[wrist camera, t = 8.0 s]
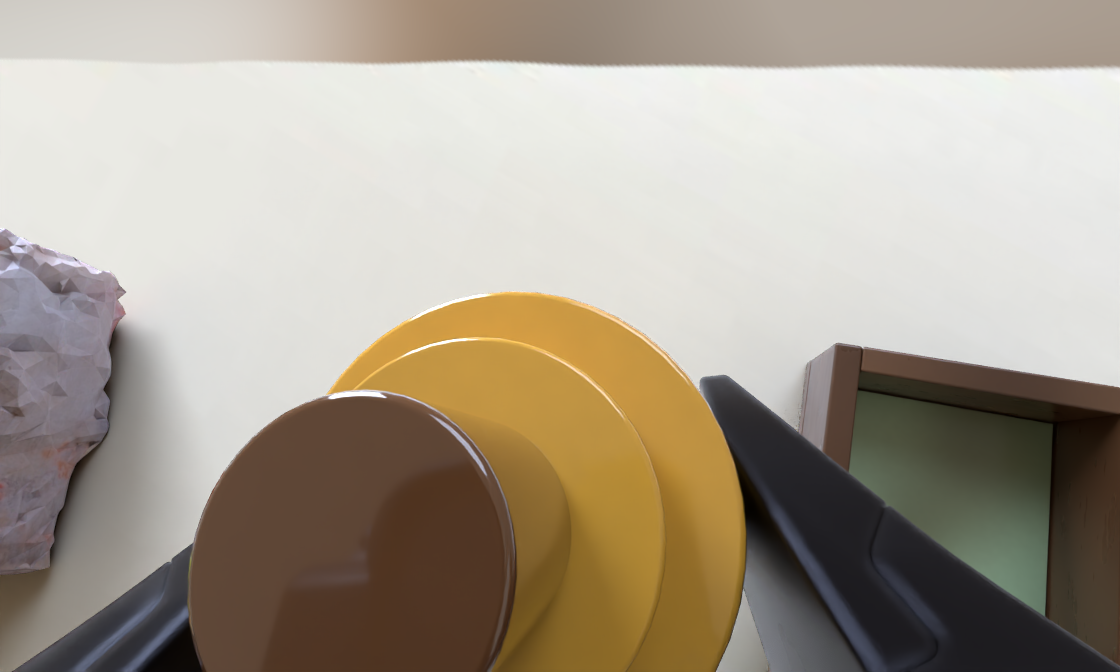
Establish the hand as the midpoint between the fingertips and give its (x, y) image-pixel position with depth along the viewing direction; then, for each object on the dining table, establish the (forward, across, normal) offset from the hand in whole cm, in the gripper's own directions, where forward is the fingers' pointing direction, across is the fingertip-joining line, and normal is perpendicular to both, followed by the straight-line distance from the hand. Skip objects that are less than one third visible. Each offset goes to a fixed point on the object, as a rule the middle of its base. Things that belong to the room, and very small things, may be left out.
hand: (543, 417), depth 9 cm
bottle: (+4, 0, +6) cm, 7 cm away
